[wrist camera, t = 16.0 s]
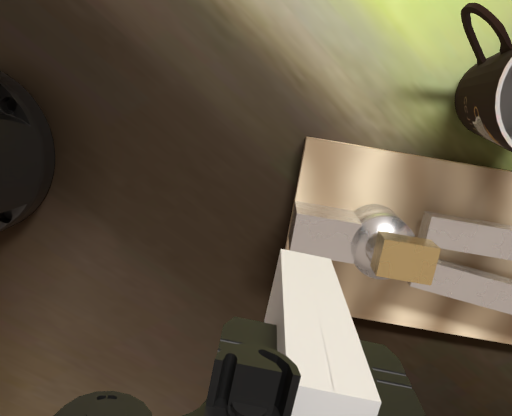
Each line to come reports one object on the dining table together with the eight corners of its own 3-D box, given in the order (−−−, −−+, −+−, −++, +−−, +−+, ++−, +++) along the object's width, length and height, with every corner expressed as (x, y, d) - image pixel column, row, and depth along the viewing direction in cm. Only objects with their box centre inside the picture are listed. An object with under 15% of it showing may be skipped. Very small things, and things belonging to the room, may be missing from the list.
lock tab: (370, 265, 36) (376, 276, 33) (378, 230, 35) (384, 239, 33) (422, 274, 35) (431, 285, 33) (431, 239, 35) (441, 248, 33)
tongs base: (286, 246, 41) (287, 263, 36) (297, 187, 39) (299, 198, 35) (635, 305, 40) (678, 331, 36) (657, 248, 39) (704, 266, 35)
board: (276, 296, 43) (275, 303, 42) (305, 136, 40) (306, 137, 38) (607, 354, 43) (619, 363, 41) (666, 197, 39) (681, 200, 38)
